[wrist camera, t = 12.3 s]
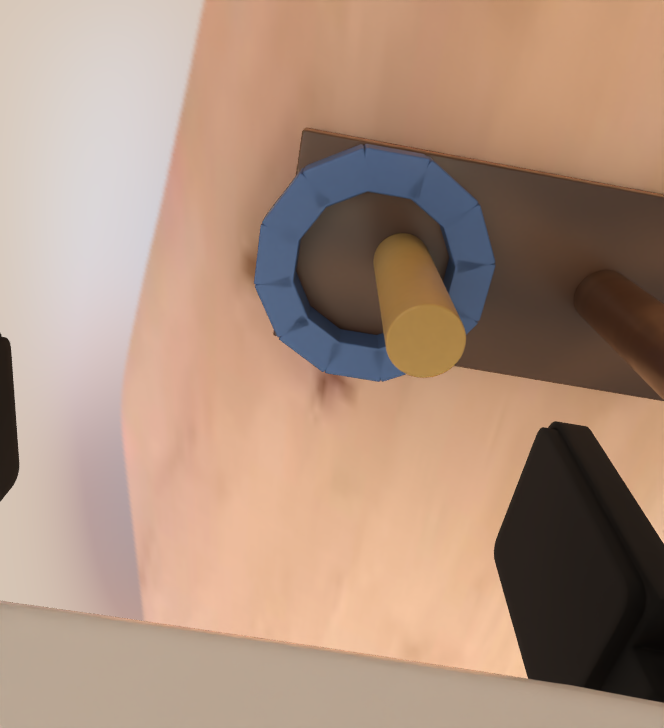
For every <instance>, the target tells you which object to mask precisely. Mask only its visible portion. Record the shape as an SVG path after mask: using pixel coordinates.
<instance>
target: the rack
mask: <svg viewBox="0 0 664 728" xmlns="http://www.w3.org/2000/svg"><path fill="white" fill-rule="evenodd" d="M360 144H362V145H363V146H364V145H365V144H371V145H377V146H382V147H388V148H394V149H399V150H405V151H410V152H416V153H421V154H425V155H426V156H429V157H430V158H431V159H432V160H434V161H435V162H436V163H437V164H438V165H439V166H440V167H441V168H442V169H443V170H444V171H446V172H447V173H448V174H449V175H450V176H451V177H452V178H453V179H454V180H455V181H456V182H458V183H459V184H460V185H461V186H462V187H463V188H464V189H465V190H466V191H467V192H468V193H470V194H471V195H472V196H473V197H474V198H475V199H476V200H477V201H478V204H479V205H480V206H481V209H482V213H483V217H484V221H485V224H486V228H487V232H488V236H489V239H490V243H491V247H492V251H493V254H494V258H495V263H494V264H495V269H494V273H493V276H492V279H491V283H490V286H489V290H488V293H487V297H486V300H485V304H484V307H483V310H482V314H481V317H480V320H479V321H477V322H478V323H477V325H476V326H475V327H474V328H473V329H472V330H471V331H470V332H469V333H468V334H467V335H466V332H465V328H464V326H463V323H462V321H461V319H460V317H459V315H458V313H457V311H456V308H455V306H454V304H453V302H452V300H451V298H450V296H449V294H448V292H447V290H446V287H445V285H444V283H443V280H444V276H445V272H446V269H447V265H448V261H449V255H448V251H447V248H446V245H445V241H444V238H443V235H442V231H441V228H440V225H439V224H438V223H437V222H436V221H435V220H434V219H433V218H432V217H431V216H429V215H428V214H427V213H426V212H425V211H424V210H423V209H421V208H420V207H419V206H418V205H417V204H416V203H415V202H414V201H412V200H411V199H407V198H401V197H395V196H389V195H384V194H378V193H372V192H366V193H363V194H360V195H358V196H355V197H352V198H350V199H347V200H344V201H342V202H339V203H336V204H334V205H331V206H328V207H326V208H325V210H324V211H323V212H322V213H321V215H320V216H319V217H318V218H317V220H316V221H315V222H314V223H313V225H312V226H311V227H310V228H309V229H308V231H307V232H306V233H305V234H304V236H303V237H302V238H301V241H300V248H299V255H298V261H297V268H296V272H297V275H298V277H299V280H300V282H301V285H302V287H303V289H304V292H305V294H306V297H307V299H308V302H309V304H310V306H311V307H312V308H314V309H315V310H316V311H317V312H319V313H320V314H321V315H323V316H324V317H325V318H326V319H328V320H329V321H330V322H332V323H333V324H334V325H335V326H337V327H338V328H339V329H342V330H348V331H354V332H360V333H367V334H373V335H379V334H382V333H384V339H385V345H386V351H387V354H388V356H389V359H390V360H391V362H392V363H393V364H394V365H395V366H396V367H397V368H398V369H399V370H400V371H402V372H404V373H406V374H408V375H411V376H414V377H421V378H427V377H434V376H437V375H440V374H442V373H444V372H446V371H448V370H449V369H451V368H452V367H453V366H458V367H464V368H470V369H476V370H482V371H488V372H494V373H500V374H506V375H512V376H518V377H524V378H530V379H535V380H541V381H547V382H553V383H559V384H565V385H571V386H577V387H583V388H589V389H595V390H601V391H607V392H613V393H619V394H625V395H631V396H636V397H642V398H648V399H654V400H660V401H664V195H663V194H657V193H652V192H647V191H641V190H636V189H631V188H625V187H620V186H615V185H609V184H604V183H599V182H593V181H588V180H583V179H577V178H572V177H567V176H561V175H556V174H551V173H545V172H540V171H535V170H529V169H524V168H519V167H513V166H508V165H503V164H497V163H492V162H487V161H481V160H476V159H471V158H465V157H460V156H455V155H449V154H444V153H439V152H433V151H428V150H423V149H417V148H412V147H407V146H401V145H396V144H391V143H385V142H380V141H375V140H369V139H364V138H359V137H353V136H348V135H343V134H337V133H332V132H327V131H321V130H316V129H311V128H305V129H304V130H303V131H302V137H301V144H300V151H299V158H298V165H297V172H296V176H297V174H298V173H299V172H300V170H301V169H302V168H305V166H307V165H309V164H311V163H314V162H317V161H319V160H322V159H324V158H327V157H329V156H332V155H335V154H337V153H340V152H342V151H345V150H347V149H350V148H352V147H355V146H358V145H360ZM273 334H274V335H275V336H277V335H276V333H275V331H274V333H273Z"/></svg>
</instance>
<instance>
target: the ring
mask: <svg viewBox="0 0 664 728" xmlns="http://www.w3.org/2000/svg"><path fill="white" fill-rule="evenodd" d="M366 192H372V193H378V194H384V195H389V196H395V197H401V198H407V199H411V200H412V201H414V202H415V203H416V204H417V205H418V206H419V207H420V208H421V209H423V210H424V211H425V212H426V213H427V214H428V215H429V216H431V217H432V218H433V219H434V220H435V221H436V222H437V223H438V224H439V225H440V228H441V231H442V235H443V238H444V241H445V245H446V248H447V251H448V255H449V261H448V265H447V269H446V272H445V276H444V280H443V283H444V285H445V287H446V290H447V292H448V294H449V296H450V298H451V300H452V302H453V304H454V306H455V308H456V311H457V313H458V315H459V317H460V319H461V321H462V323H463V326H464V328H465V332H466V335H467V334H468V333H469V332H470V331H471V330H472V329H473V328H474V327H475V326H476V325H477V323H478V322H477V321H479V320H480V317H481V314H482V310H483V307H484V304H485V300H486V297H487V293H488V290H489V286H490V283H491V279H492V276H493V273H494V269H495V264H494V263H495V258H494V254H493V251H492V247H491V243H490V239H489V236H488V232H487V228H486V224H485V221H484V217H483V213H482V209H481V206H480V205H479V204H478V201H477V200H476V199H475V198H474V197H473V196H472V195H471V194H470V193H468V192H467V191H466V190H465V189H464V188H463V187H462V186H461V185H460V184H459V183H458V182H456V181H455V180H454V179H453V178H452V177H451V176H450V175H449V174H448V173H447V172H446V171H444V170H443V169H442V168H441V167H440V166H439V165H438V164H437V163H436V162H435V161H434V160H432V159H431V158H430V157H429V156H426V155H425V154H421V153H416V152H410V151H405V150H399V149H394V148H388V147H382V146H377V145H371V144H365V145H364V146H363V145H362V144H360V145H358V146H355V147H352V148H350V149H347V150H345V151H342V152H340V153H337V154H335V155H332V156H329V157H327V158H324V159H322V160H319V161H317V162H314V163H311V164H309V165H307V166H305V168H302V169H301V170H300V172H299V173H298V174H297V176H296V177H295V178H294V180H293V181H292V182H291V183H290V185H289V186H288V187H287V189H286V190H285V191H284V192H283V194H282V195H281V196H280V198H279V199H278V200H277V202H276V203H275V204H274V205H273V207H272V208H271V209H270V211H269V212H268V213H267V215H266V216H265V218H264V220H263V222H262V224H261V228H260V236H259V245H258V254H257V262H256V271H255V279H254V284H256V285H255V288H256V290H257V292H258V295H259V297H260V299H261V301H262V304H263V306H264V308H265V310H266V313H267V315H268V317H269V320H270V322H271V324H272V326H273V329H274V331H275V333H276V335H277V337H279V340H281V341H282V342H283V343H285V344H286V345H287V346H289V347H290V348H291V349H293V350H294V351H295V352H297V353H298V354H299V355H301V356H302V357H303V358H305V359H306V360H307V361H309V362H310V363H311V364H313V365H314V366H315V367H317V368H318V369H319V370H321V371H322V372H324V371H325V373H328V374H334V375H341V376H347V377H353V378H359V379H366V380H372V381H378V382H379V381H380V380H381V381H382V382H383V381H386V380H389V379H393V378H396V377H399V376H402V375H405V374H406V373H404V372H402V371H400V370H399V369H398V368H397V367H396V366H395V365H394V364H393V363H392V362H391V360H390V359H389V356H388V354H387V351H386V345H385V339H384V333H382V334H379V335H373V334H367V333H360V332H354V331H348V330H342V329H339V328H338V327H337V326H335V325H334V324H333V323H332V322H330V321H329V320H328V319H326V318H325V317H324V316H323V315H321V314H320V313H319V312H317V311H316V310H315V309H314V308H312V307H311V306H310V304H309V302H308V299H307V297H306V294H305V292H304V289H303V287H302V285H301V282H300V280H299V277H298V275H297V272H296V268H297V261H298V255H299V248H300V241H301V238H302V237H303V236H304V234H305V233H306V232H307V231H308V229H309V228H310V227H311V226H312V225H313V223H314V222H315V221H316V220H317V218H318V217H319V216H320V215H321V213H322V212H323V211H324V210H325V208H326V207H328V206H331V205H334V204H336V203H339V202H342V201H344V200H347V199H350V198H352V197H355V196H358V195H360V194H363V193H366Z"/></svg>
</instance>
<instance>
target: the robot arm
mask: <svg viewBox="0 0 664 728" xmlns="http://www.w3.org/2000/svg"><path fill="white" fill-rule="evenodd" d="M18 472H19V454H18V440H17V426H16V412H15V399H14V384H13V371H12V357H11V346H10V342H9V340H8V339H7V338H5V337H1V334H0V501H1V500H2V499H3V497H4V496H5V495H6V494H7V493H8V491H9V490H10V489H11V488H12V486H13V485H14V483H15V481H16V479H17V476H18ZM494 559H495V563H496V567H497V570H498V574H499V577H500V581H501V584H502V588H503V592H504V595H505V599H506V602H507V606H508V609H509V613H510V616H511V620H512V623H513V627H514V630H515V634H516V638H517V641H518V645H519V648H520V652H521V655H522V659H523V662H524V666H525V669H526V673H527V676H528V679H526V678H520V677H513V676H507V675H501V674H495V673H488V672H482V671H475V670H468V669H462V668H455V667H449V666H442V665H436V664H429V663H422V662H416V661H409V660H403V659H396V658H390V657H383V656H376V655H370V654H363V653H357V652H350V651H344V650H337V649H330V648H324V647H317V646H310V645H304V644H297V643H290V642H283V641H276V640H270V639H263V638H256V637H249V636H243V635H236V634H229V633H222V632H215V631H209V630H202V629H195V628H188V627H181V626H174V625H167V624H160V623H153V622H147V621H140V620H133V619H126V618H119V617H112V616H105V615H98V614H91V613H83V612H77V611H70V610H63V609H55V608H48V607H41V606H34V605H27V604H19V603H13V602H6V601H0V728H664V544H663V542H662V541H661V539H660V537H659V536H658V534H657V533H656V531H655V530H654V528H653V527H652V525H651V523H650V522H649V520H648V519H647V517H646V516H645V514H644V513H643V511H642V509H641V508H640V506H639V505H638V503H637V502H636V500H635V498H634V497H633V495H632V494H631V492H630V491H629V489H628V488H627V486H626V484H625V483H624V481H623V480H622V478H621V477H620V475H619V474H618V472H617V470H616V469H615V467H614V466H613V464H612V463H611V461H610V460H609V458H608V456H607V455H606V453H605V452H604V450H603V449H602V447H601V446H600V444H599V442H598V441H597V439H596V438H595V436H594V435H593V433H592V431H591V430H590V429H589V428H588V427H586V426H580V425H574V424H568V423H562V422H556V421H555V422H553V423H552V424H551V425H550V426H549V427H548V428H544V427H543V428H541V429H540V430H539V431H538V433H537V435H536V438H535V440H534V443H533V446H532V448H531V451H530V453H529V456H528V458H527V461H526V464H525V466H524V469H523V471H522V474H521V477H520V479H519V482H518V484H517V487H516V489H515V492H514V495H513V497H512V500H511V502H510V505H509V508H508V510H507V513H506V515H505V518H504V520H503V523H502V526H501V528H500V531H499V533H498V536H497V539H496V542H495V547H494Z"/></svg>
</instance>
